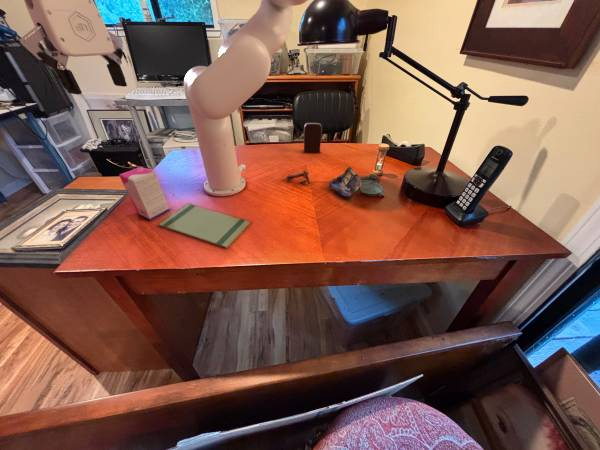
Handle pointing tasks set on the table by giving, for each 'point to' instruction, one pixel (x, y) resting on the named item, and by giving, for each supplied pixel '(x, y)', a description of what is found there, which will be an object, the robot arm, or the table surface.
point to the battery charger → (312, 137)
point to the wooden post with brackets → (299, 176)
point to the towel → (205, 225)
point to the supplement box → (145, 192)
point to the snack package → (346, 183)
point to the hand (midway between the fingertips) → (99, 89)
